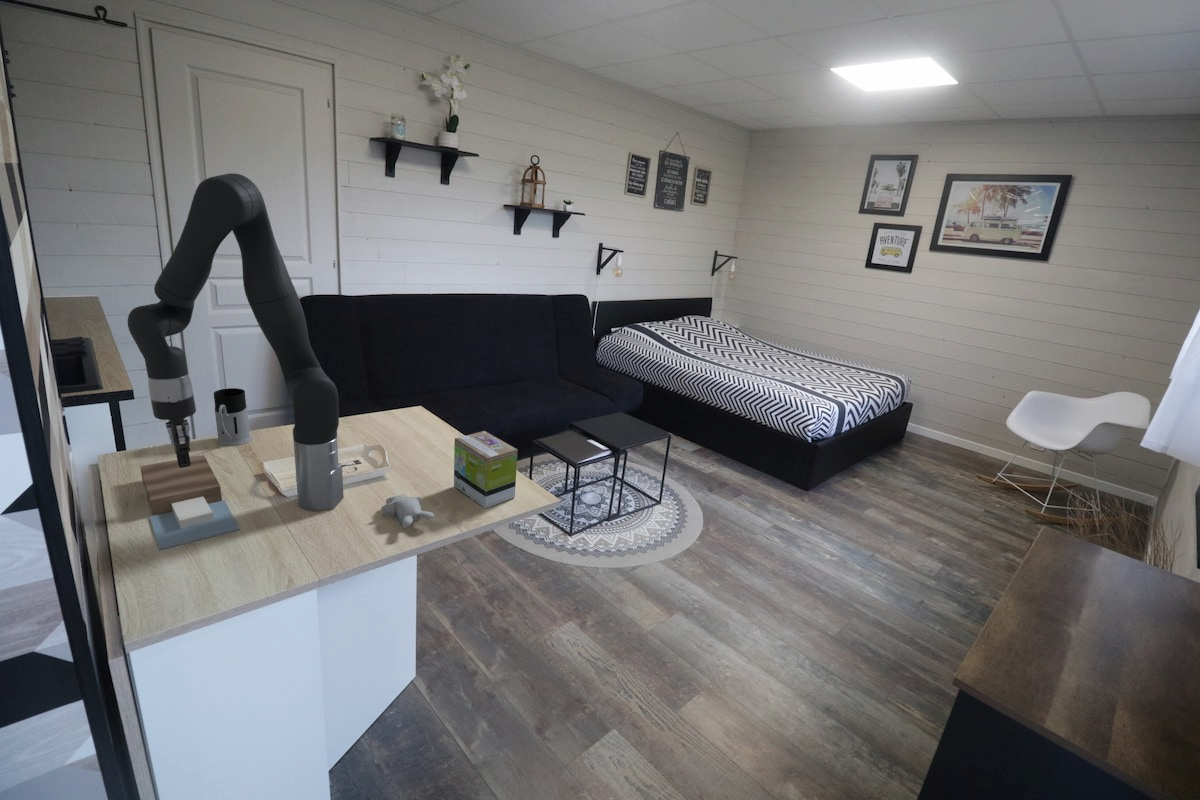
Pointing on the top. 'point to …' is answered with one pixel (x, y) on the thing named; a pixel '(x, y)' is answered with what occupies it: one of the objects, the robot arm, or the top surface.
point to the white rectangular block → (192, 512)
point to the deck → (179, 483)
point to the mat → (192, 527)
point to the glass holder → (231, 417)
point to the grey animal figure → (405, 509)
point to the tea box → (485, 468)
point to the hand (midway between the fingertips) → (184, 465)
